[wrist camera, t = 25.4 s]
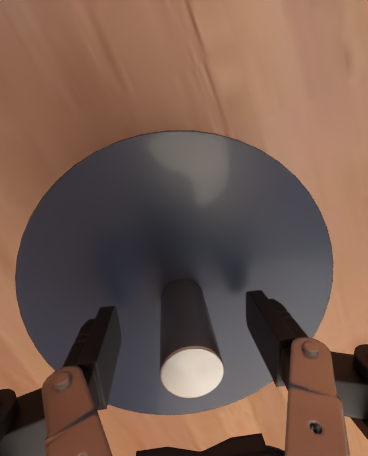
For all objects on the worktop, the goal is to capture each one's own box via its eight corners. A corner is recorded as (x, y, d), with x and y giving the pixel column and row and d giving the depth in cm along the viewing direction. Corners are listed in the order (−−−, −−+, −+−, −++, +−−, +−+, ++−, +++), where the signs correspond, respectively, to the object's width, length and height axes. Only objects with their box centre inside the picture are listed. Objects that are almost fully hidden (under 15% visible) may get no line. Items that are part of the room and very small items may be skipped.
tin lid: (64, 414, 17) (11, 552, 11) (-15, 146, 12) (-190, 137, 6) (310, 380, 18) (382, 491, 12) (334, 120, 13) (479, 90, 7)
